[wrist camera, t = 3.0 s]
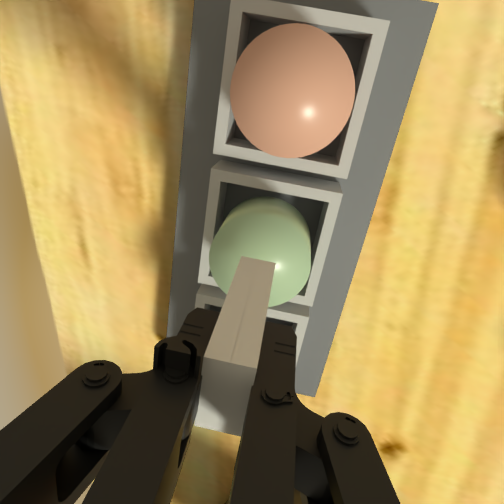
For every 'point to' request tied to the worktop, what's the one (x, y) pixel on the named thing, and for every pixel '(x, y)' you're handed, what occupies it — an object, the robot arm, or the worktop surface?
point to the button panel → (292, 169)
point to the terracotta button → (292, 90)
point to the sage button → (264, 245)
